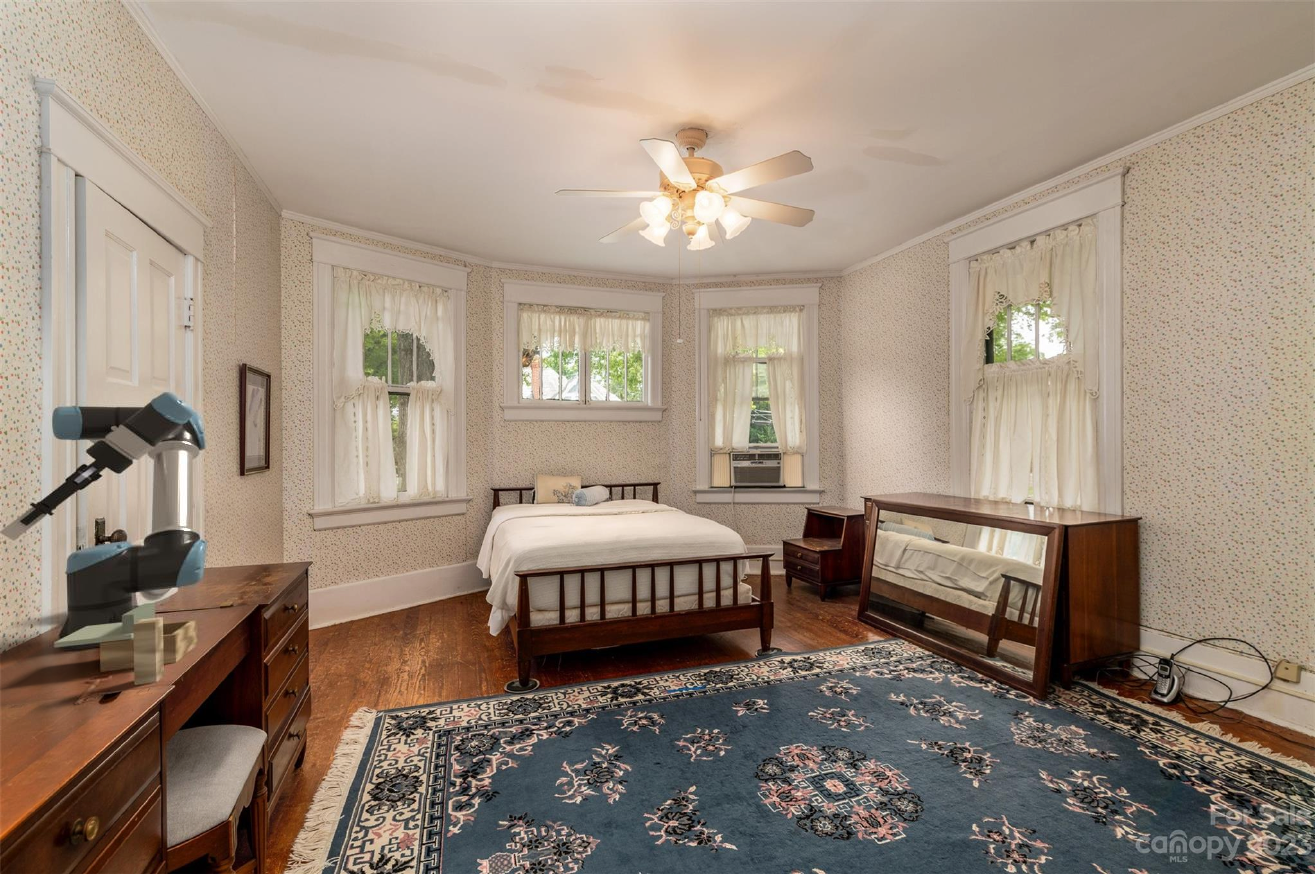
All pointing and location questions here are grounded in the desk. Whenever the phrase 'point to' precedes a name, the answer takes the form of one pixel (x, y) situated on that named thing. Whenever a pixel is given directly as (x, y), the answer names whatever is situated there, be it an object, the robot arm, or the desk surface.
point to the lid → (109, 628)
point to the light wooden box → (175, 646)
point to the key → (88, 691)
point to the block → (148, 650)
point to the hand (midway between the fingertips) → (7, 536)
